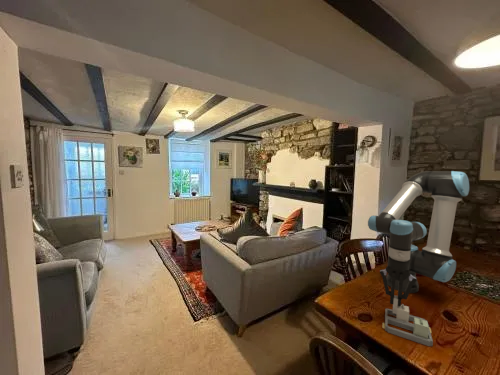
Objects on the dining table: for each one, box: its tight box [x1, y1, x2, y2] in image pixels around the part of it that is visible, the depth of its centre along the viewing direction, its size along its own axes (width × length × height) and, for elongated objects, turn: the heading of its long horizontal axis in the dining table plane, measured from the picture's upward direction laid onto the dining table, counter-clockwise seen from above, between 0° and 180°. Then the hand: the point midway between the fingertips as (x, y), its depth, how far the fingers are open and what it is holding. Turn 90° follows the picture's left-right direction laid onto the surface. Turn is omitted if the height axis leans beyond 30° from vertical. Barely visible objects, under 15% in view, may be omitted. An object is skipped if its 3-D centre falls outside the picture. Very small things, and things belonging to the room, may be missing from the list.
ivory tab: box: [395, 303, 410, 323], centre depth 92 cm, size 4×4×7 cm
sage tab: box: [412, 317, 430, 339], centre depth 84 cm, size 4×4×7 cm
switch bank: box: [381, 308, 434, 347], centre depth 89 cm, size 14×17×3 cm
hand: (394, 311), depth 94 cm, fingers closed
